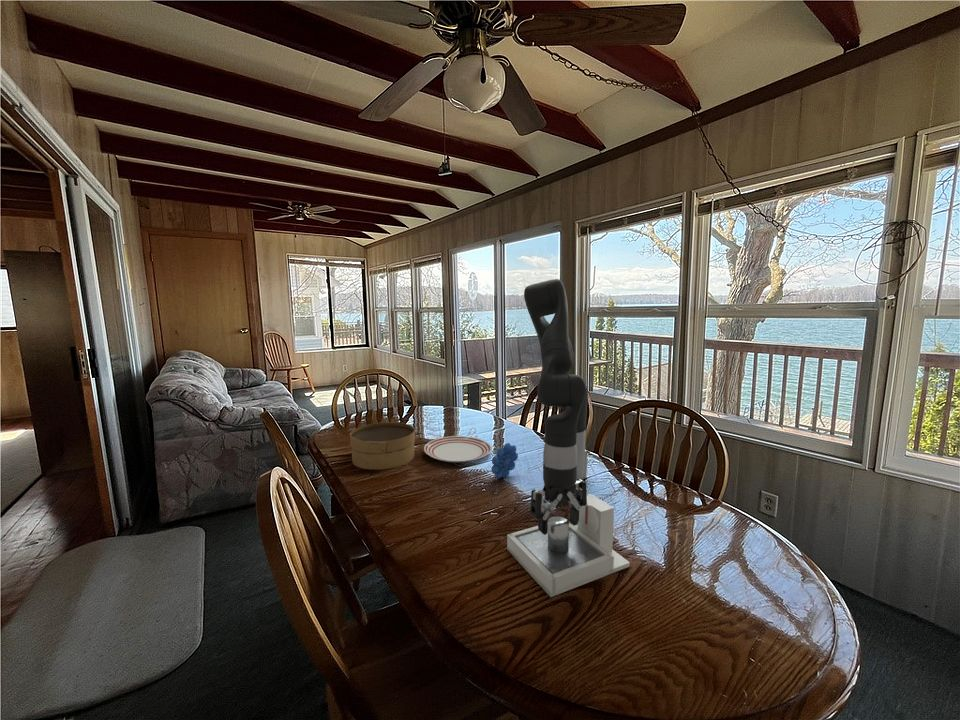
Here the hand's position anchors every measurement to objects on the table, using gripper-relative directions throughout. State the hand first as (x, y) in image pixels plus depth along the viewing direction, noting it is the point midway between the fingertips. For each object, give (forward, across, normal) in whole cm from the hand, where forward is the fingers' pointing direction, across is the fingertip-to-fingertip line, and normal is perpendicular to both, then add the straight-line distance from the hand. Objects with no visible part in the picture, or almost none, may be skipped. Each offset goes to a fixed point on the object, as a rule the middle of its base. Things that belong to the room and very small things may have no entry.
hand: (558, 528), depth 92 cm
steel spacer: (+4, 0, 0) cm, 5 cm away
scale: (+8, -2, 0) cm, 9 cm away
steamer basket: (+9, +22, -84) cm, 87 cm away
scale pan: (+6, 0, 0) cm, 6 cm away
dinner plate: (+9, -6, -74) cm, 75 cm away
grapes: (+8, -11, -47) cm, 49 cm away
